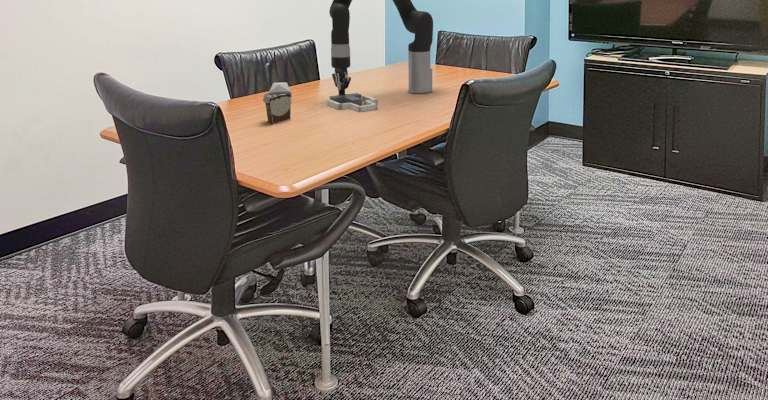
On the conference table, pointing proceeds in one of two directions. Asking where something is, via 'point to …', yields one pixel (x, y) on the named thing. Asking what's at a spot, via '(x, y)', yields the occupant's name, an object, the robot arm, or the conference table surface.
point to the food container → (278, 106)
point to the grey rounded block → (280, 87)
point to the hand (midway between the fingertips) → (341, 98)
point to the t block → (348, 98)
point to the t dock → (368, 105)
